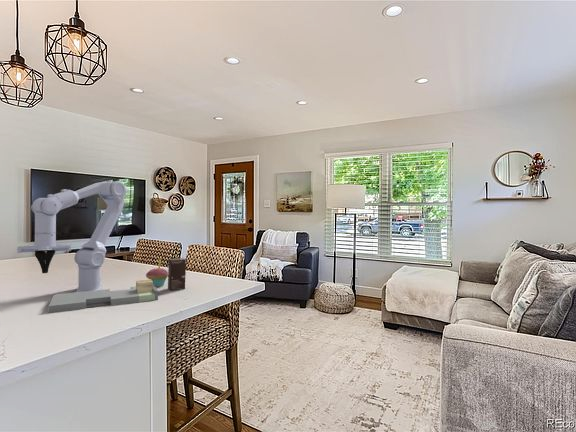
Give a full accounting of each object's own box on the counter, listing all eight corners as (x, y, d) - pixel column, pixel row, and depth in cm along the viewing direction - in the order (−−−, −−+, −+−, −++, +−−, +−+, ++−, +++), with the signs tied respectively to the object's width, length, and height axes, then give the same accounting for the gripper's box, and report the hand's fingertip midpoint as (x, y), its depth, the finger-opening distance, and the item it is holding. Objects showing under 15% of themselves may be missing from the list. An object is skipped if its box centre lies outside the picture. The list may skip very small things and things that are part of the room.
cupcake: (172, 285, 134) (172, 256, 134) (154, 289, 127) (154, 259, 127) (159, 282, 139) (160, 254, 138) (141, 286, 131) (141, 257, 131)
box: (170, 290, 125) (170, 260, 124) (167, 288, 128) (168, 258, 128) (186, 289, 128) (186, 259, 128) (182, 286, 132) (183, 257, 131)
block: (136, 289, 118) (136, 280, 118) (150, 288, 120) (150, 278, 120) (137, 292, 113) (137, 283, 113) (152, 291, 116) (152, 281, 116)
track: (54, 300, 109) (54, 290, 109) (151, 290, 125) (151, 281, 125) (48, 312, 96) (48, 302, 96) (157, 299, 112) (158, 290, 112)
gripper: (15, 234, 102) (15, 276, 102) (70, 233, 109) (70, 273, 109) (19, 232, 108) (19, 272, 108) (71, 232, 115) (71, 269, 115)
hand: (45, 272), depth 109 cm, fingers closed
